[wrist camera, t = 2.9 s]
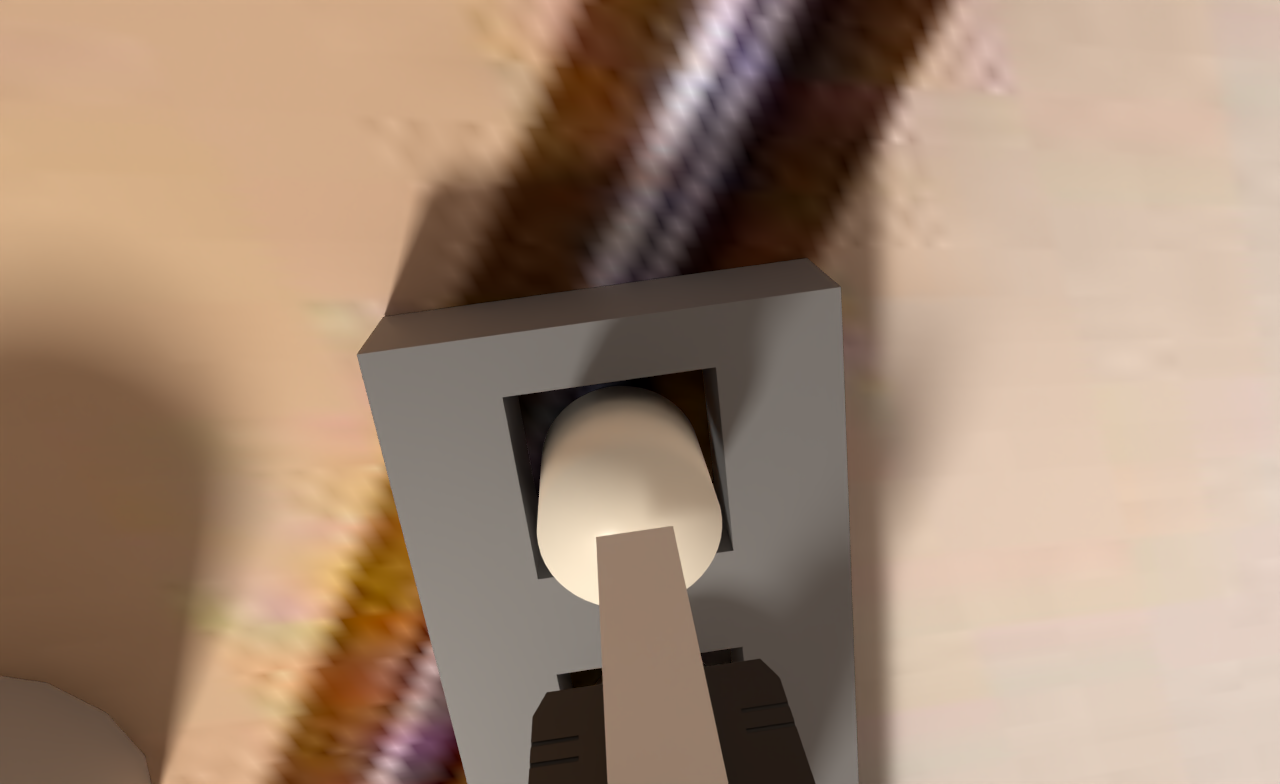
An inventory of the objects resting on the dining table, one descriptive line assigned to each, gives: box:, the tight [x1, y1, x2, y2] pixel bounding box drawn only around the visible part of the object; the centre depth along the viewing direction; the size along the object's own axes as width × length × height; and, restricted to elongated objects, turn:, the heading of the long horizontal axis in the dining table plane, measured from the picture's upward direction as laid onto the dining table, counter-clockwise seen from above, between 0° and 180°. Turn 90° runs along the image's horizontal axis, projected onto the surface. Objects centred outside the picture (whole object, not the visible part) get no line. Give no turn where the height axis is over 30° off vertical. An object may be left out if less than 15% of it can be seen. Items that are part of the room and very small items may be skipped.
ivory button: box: [537, 386, 722, 605], centre depth 20 cm, size 4×4×4 cm
